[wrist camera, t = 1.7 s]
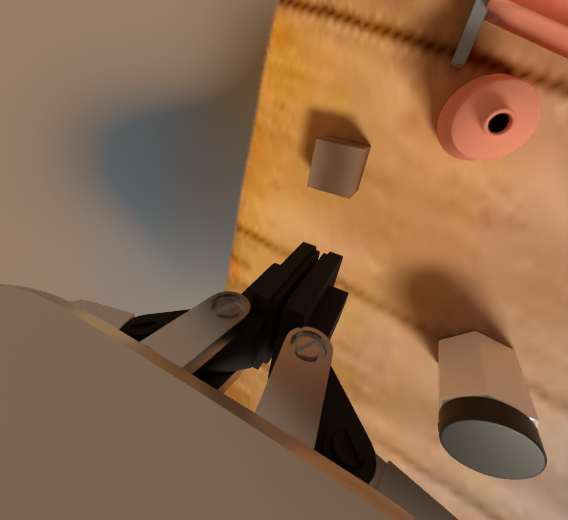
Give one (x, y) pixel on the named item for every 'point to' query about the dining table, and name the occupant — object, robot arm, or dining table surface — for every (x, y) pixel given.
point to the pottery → (503, 87)
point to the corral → (470, 33)
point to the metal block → (338, 166)
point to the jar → (487, 408)
